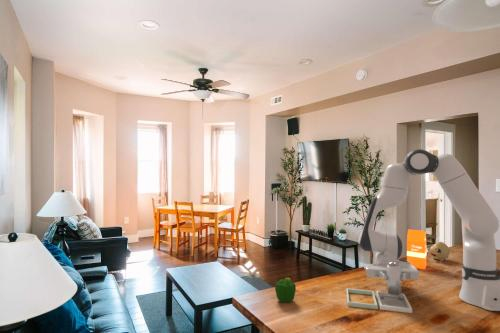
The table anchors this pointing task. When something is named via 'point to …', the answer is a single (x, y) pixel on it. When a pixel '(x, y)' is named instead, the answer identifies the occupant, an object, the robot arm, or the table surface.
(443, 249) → the toy pig
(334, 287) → the table surface
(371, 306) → the bin
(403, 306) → the bin
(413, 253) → the orange juice
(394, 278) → the chrome tube with bumps
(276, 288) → the bell pepper
